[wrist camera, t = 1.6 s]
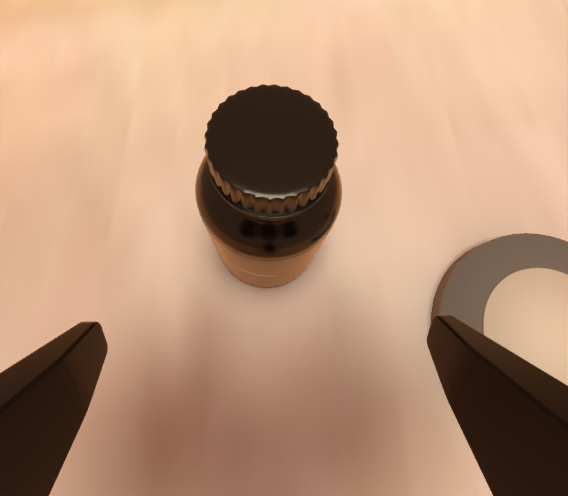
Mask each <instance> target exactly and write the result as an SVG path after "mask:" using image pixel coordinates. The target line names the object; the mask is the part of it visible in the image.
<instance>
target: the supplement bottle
mask: <svg viewBox="0 0 568 496" xmlns="http://www.w3.org/2000/svg"><path fill="white" fill-rule="evenodd" d="M207 129H208V130H207V131H206V133H205V141H206V143H205V152H206V155H205V157H204V159H203V161H202V162H201V165H200V167H199V170H198V174H197V178H196V187H195V193H196V202H197V206H198V209H199V213H200V215H201V218H202V220H203V223H204V225H205V227H206V229H207V231H208V233H209V235H210V237H211V239H212V241H213V243H214V245H215V247H216V250H217V252H218V254H219V256H220V258H221V260H222V261H223V263H224V265H225V266H226V267H227V269H228V270H229V271H230V272H231V273H232V274H233V275H234V276H236V277H237V278H238V279H240V280H241V281H243V282H245V283H248V284H250V285H254V286H258V287H275V286H280V285H283V284H286V283H288V282H290V281H292V280H293V279H295V278H296V277H298V276H299V275H300V274H301V273H302V272H303V271H304V270H305V269H306V267H307V266H308V265H309V263H310V262H311V260H312V259H313V257H314V255H315V254H316V252H317V251H318V249H319V247H320V246H321V244H322V242H323V241H324V239H325V238H326V236H327V234H328V233H329V231H330V230H331V228H332V226H333V224H334V222H335V220H336V218H337V215H338V212H339V209H340V205H341V199H342V186H341V179H340V175H339V172H338V169H337V167H336V164H335V162H336V160H337V157H338V154H337V149H338V145H339V143H338V141H337V139H336V137H337V131H336V130H335V129H334V124H333V121H332V120H331V119H330V118H329V116H328V113H327V111H325V110H324V109H322V107H321V105H320V104H319V103H318V102H315V101H313V99H312V98H311V97H310V96H308V95H304V94H303V93H301V92H300V91H299V90H292V89H291V88H289V87H280V86H278V85H270V86H267V85H260V86H258V87H249V88H247V89H246V90H240V91H238V92H237V93H236V94H235V95H232V96H229V97H228V98H227V99H226V101H225V102H223V103H221V104H219V106H218V109H217V110H216V111H214V112H213V113H212V119H211V120H210V121H209V122H208V123H207Z"/></svg>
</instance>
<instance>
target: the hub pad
mask: <svg viewBox="0 0 568 496" xmlns="http://www.w3.org/2000/svg"><path fill="white" fill-rule="evenodd" d="M436 315H452V316H453V317H455V318H457V319H458V320H460V321H462V322H463V323H465V324H467V325H468V326H470V327H472V328H473V329H475V330H477V331H478V332H480V333H482V334H483V335H485V336H486V337H488V338H490V339H491V340H493V341H495V342H496V343H498V344H500V345H501V346H503V347H505V348H506V349H508V350H510V351H511V352H513V353H515V354H516V355H518V356H520V357H521V358H523V359H525V360H526V361H528V362H530V363H531V364H533V365H534V366H536V367H538V368H539V369H541V370H543V371H544V372H546V373H548V374H549V375H551V376H553V377H554V378H556V379H558V380H559V381H561V382H563V383H564V384H566V385H568V242H567V241H564V240H561V239H558V238H554V237H551V236H546V235H540V234H527V233H524V234H512V235H507V236H503V237H499V238H497V239H494V240H491V241H489V242H487V243H484V244H482V245H480V246H478V247H476V248H474V249H472V250H470V251H469V252H467V253H465V254H464V255H463V256H461V257H460V258H459V259H458V260H457V261H456V262H455V263H454V264H453V265H452V266H451V267H450V268H449V270H448V271H447V272H446V274H445V275H444V277H443V279H442V281H441V283H440V285H439V287H438V289H437V292H436V296H435V299H434V303H433V309H432V320H433V318H434V317H435V316H436ZM431 323H432V322H431Z"/></svg>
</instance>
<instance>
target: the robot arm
mask: <svg viewBox="0 0 568 496" xmlns="http://www.w3.org/2000/svg"><path fill="white" fill-rule="evenodd" d="M427 344H428V348H429V351H430V353H431V356H432V359H433V362H434V364H435V367H436V370H437V373H438V376H439V378H440V381H441V384H442V387H443V390H444V392H445V395H446V397H447V399H448V402H449V404H450V406H451V408H452V410H453V412H454V415H455V417H456V419H457V421H458V423H459V425H460V427H461V429H462V431H463V433H464V435H465V438H466V440H467V442H468V444H469V446H470V448H471V450H472V452H473V454H474V456H475V459H476V461H477V463H478V465H479V467H480V469H481V471H482V473H483V475H484V477H485V479H486V482H487V484H488V486H489V488H490V490H491V492H492V494H493V496H568V385H566V384H564V383H563V382H561V381H559V380H558V379H556V378H554V377H553V376H551V375H549V374H548V373H546V372H544V371H543V370H541V369H539V368H538V367H536V366H534V365H533V364H531V363H530V362H528V361H526V360H525V359H523V358H521V357H520V356H518V355H516V354H515V353H513V352H511V351H510V350H508V349H506V348H505V347H503V346H501V345H500V344H498V343H496V342H495V341H493V340H491V339H490V338H488V337H486V336H485V335H483V334H482V333H480V332H478V331H477V330H475V329H473V328H472V327H470V326H468V325H467V324H465V323H463V322H462V321H460V320H458V319H457V318H455V317H453V316H452V315H436V316H435V317H434V318H433V320H432V323H431V326H430V329H429V333H428V336H427ZM107 349H108V347H107V342H106V339H105V336H104V333H103V330H102V327H101V325H100V323H98V322H81V323H79V324H77V325H76V326H74V327H72V328H71V329H69V330H68V331H66V332H65V333H63V334H61V335H60V336H58V337H57V338H55V339H54V340H52V341H50V342H49V343H47V344H46V345H44V346H42V347H41V348H39V349H38V350H36V351H35V352H33V353H31V354H30V355H28V356H27V357H25V358H23V359H22V360H20V361H19V362H17V363H16V364H14V365H12V366H11V367H9V368H8V369H6V370H4V371H3V372H1V373H0V496H49V494H50V492H51V490H52V488H53V485H54V483H55V481H56V479H57V477H58V474H59V472H60V470H61V468H62V466H63V463H64V461H65V459H66V457H67V455H68V452H69V450H70V448H71V446H72V444H73V441H74V439H75V437H76V435H77V433H78V430H79V428H80V426H81V424H82V422H83V419H84V417H85V415H86V412H87V410H88V407H89V405H90V402H91V399H92V396H93V393H94V390H95V387H96V384H97V381H98V378H99V375H100V372H101V369H102V366H103V363H104V360H105V357H106V354H107Z"/></svg>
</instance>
